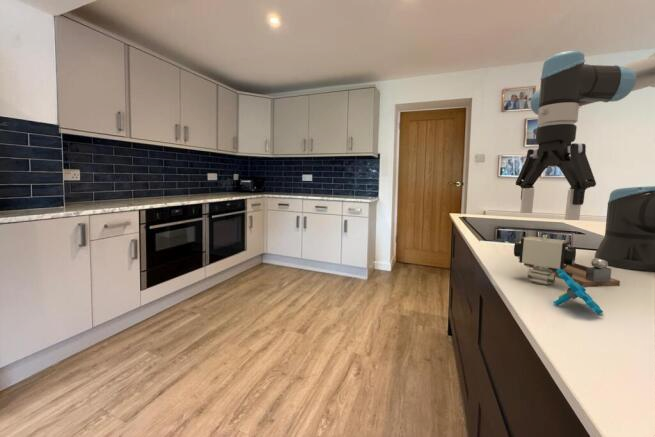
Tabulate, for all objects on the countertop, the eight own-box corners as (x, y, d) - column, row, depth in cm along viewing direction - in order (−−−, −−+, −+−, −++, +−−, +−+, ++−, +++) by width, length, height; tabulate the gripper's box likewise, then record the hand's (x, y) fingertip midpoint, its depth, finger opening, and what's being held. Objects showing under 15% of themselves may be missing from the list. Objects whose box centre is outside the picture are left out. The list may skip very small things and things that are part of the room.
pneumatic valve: (568, 291, 69) (574, 239, 67) (511, 279, 77) (514, 233, 76) (573, 285, 73) (578, 236, 71) (517, 274, 81) (521, 230, 80)
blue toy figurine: (609, 316, 52) (562, 268, 57) (576, 332, 55) (533, 286, 59) (604, 305, 61) (563, 264, 65) (575, 319, 64) (538, 279, 68)
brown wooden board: (553, 264, 91) (554, 257, 91) (619, 285, 73) (620, 276, 72) (524, 264, 91) (524, 257, 90) (582, 286, 72) (583, 278, 72)
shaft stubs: (546, 260, 91) (547, 243, 90) (610, 281, 72) (612, 260, 72) (532, 260, 91) (534, 243, 90) (593, 281, 72) (595, 260, 71)
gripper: (505, 133, 82) (498, 210, 85) (592, 113, 58) (579, 223, 60) (530, 134, 83) (523, 211, 86) (628, 114, 58) (614, 223, 61)
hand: (546, 216), depth 73 cm, fingers open, 13 cm apart
